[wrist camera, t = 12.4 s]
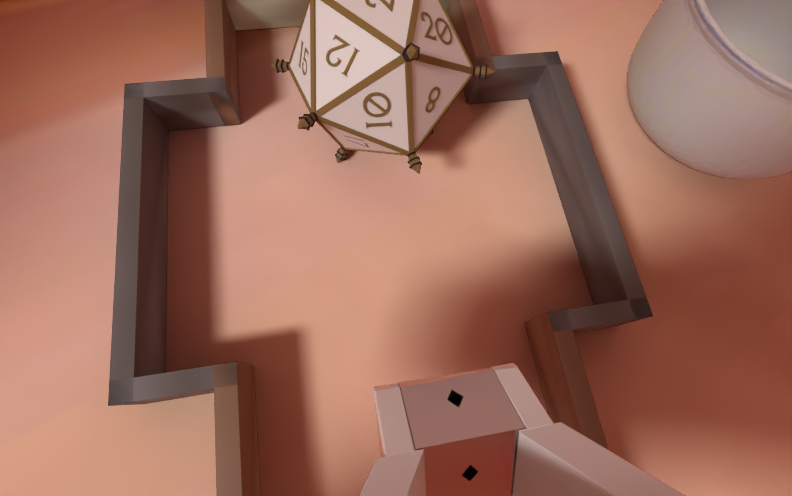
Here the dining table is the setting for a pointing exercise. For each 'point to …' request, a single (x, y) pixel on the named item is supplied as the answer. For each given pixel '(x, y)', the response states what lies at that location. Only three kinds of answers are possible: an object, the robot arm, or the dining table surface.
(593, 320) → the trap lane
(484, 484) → the robot arm
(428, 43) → the game die
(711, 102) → the teacup
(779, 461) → the dining table surface
